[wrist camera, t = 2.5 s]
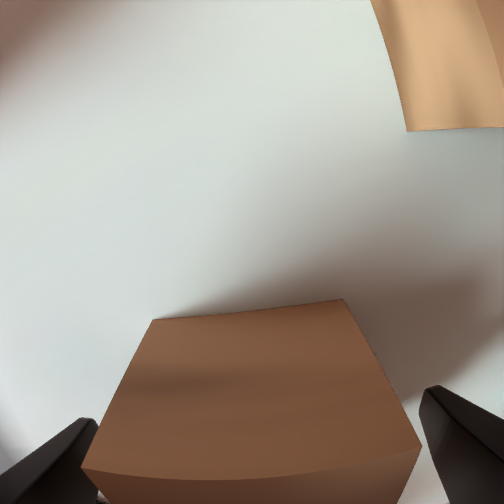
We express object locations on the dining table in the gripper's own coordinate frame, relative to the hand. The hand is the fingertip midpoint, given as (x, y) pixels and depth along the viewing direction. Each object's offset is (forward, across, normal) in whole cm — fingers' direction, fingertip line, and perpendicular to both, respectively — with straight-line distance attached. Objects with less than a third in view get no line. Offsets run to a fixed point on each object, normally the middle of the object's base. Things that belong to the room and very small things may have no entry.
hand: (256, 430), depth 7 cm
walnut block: (+2, 0, 0) cm, 2 cm away
